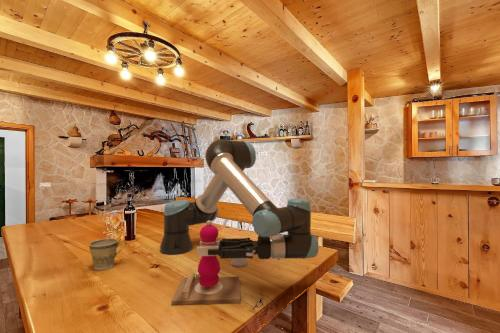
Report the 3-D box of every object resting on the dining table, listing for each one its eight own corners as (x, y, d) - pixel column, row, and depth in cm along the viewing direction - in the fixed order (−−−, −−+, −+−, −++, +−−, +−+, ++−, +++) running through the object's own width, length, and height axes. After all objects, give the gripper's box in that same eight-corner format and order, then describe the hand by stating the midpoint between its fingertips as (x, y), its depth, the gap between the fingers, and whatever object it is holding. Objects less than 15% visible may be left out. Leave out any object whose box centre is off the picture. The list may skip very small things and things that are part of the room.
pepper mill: (199, 277, 82) (199, 218, 82) (220, 276, 82) (220, 217, 82) (196, 288, 74) (196, 223, 75) (219, 287, 75) (219, 222, 75)
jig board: (171, 305, 70) (171, 294, 70) (182, 281, 85) (182, 272, 85) (240, 303, 72) (240, 292, 72) (239, 279, 87) (239, 270, 87)
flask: (250, 261, 103) (250, 238, 103) (244, 268, 96) (244, 243, 96) (234, 259, 105) (234, 236, 106) (227, 266, 99) (227, 241, 99)
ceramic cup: (87, 274, 90) (87, 247, 90) (90, 264, 99) (90, 240, 99) (126, 267, 96) (126, 242, 96) (126, 259, 105) (126, 236, 105)
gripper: (274, 269, 71) (194, 271, 69) (266, 249, 89) (202, 250, 87) (274, 244, 71) (194, 245, 69) (266, 228, 89) (202, 229, 87)
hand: (198, 248), depth 78 cm, fingers closed on pepper mill, 5 cm apart
